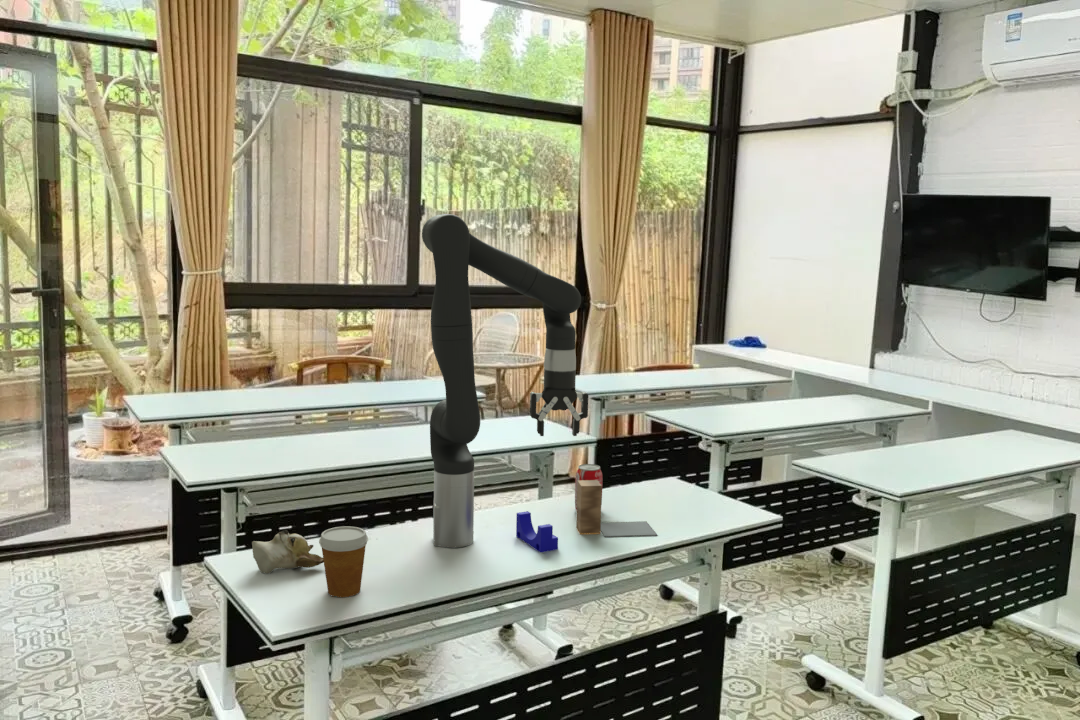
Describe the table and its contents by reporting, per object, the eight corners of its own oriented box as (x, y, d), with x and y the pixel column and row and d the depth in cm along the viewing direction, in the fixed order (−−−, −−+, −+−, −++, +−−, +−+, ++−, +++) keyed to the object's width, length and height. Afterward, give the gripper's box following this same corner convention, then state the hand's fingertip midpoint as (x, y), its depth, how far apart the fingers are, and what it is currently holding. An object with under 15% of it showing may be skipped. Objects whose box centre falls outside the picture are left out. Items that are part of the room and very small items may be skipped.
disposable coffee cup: (309, 593, 174) (308, 534, 172) (344, 578, 182) (344, 522, 180) (343, 605, 169) (342, 545, 167) (378, 589, 177) (378, 531, 175)
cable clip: (557, 550, 201) (558, 525, 201) (540, 553, 199) (541, 527, 198) (532, 534, 212) (533, 510, 211) (516, 537, 210) (516, 512, 209)
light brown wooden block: (580, 534, 212) (581, 486, 210) (576, 527, 217) (577, 480, 215) (600, 533, 213) (601, 485, 211) (596, 527, 218) (597, 480, 216)
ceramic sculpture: (244, 526, 186) (313, 519, 195) (243, 566, 187) (311, 557, 196) (260, 541, 177) (331, 533, 186) (258, 583, 178) (329, 572, 187)
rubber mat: (604, 537, 210) (604, 535, 210) (595, 523, 220) (595, 522, 220) (657, 535, 212) (657, 534, 212) (646, 522, 222) (646, 521, 222)
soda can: (570, 508, 232) (572, 464, 231) (595, 506, 234) (597, 462, 233) (579, 516, 226) (581, 471, 224) (605, 514, 228) (607, 469, 226)
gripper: (532, 370, 203) (530, 439, 206) (592, 370, 205) (590, 438, 208) (527, 365, 211) (526, 432, 213) (586, 365, 213) (584, 431, 215)
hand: (558, 435), depth 210 cm, fingers open, 7 cm apart
